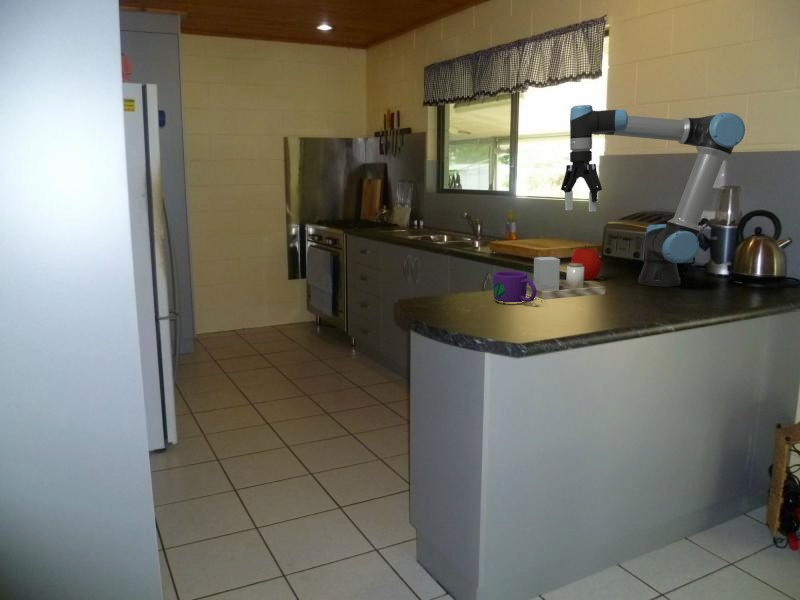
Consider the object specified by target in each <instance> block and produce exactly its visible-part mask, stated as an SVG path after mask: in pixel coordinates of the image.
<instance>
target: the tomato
mask: <svg viewBox="0 0 800 600" xmlns="http://www.w3.org/2000/svg"><path fill="white" fill-rule="evenodd" d="M572 254H573V255H572V256H571V261H570V263H582V264H583V266H584V281H589V280H590V281H593V280H595V279H596V278H598V276H599V275H600V272H601V269H602V259H601V256H600V254H599V253H598V252H597V250H595V249H594V248H591V247H590V246H589V247H587V245H584V246H582V247H578V248H576V250H575V251H574V252H573V253H572Z"/></svg>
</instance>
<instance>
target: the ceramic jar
mask: <svg viewBox="0 0 800 600" xmlns="http://www.w3.org/2000/svg"><path fill="white" fill-rule="evenodd" d="M565 278H566V279H565V280H566V287H569V288H573V289H578V288H583V283H584V282H585V280H584V266H583V264H582V263H571V262H569V263H568V265H566V277H565Z"/></svg>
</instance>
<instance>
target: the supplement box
mask: <svg viewBox="0 0 800 600" xmlns="http://www.w3.org/2000/svg"><path fill="white" fill-rule="evenodd" d="M560 270H561V259H560V258H557V257H555V256H545V257H544V256H539V257H534V258H533V281H532V282H533V283H534V285H535V287H536V289H538V290H542V291H554V290H559V281H560V272H561V271H560Z"/></svg>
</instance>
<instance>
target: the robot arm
mask: <svg viewBox="0 0 800 600" xmlns="http://www.w3.org/2000/svg"><path fill="white" fill-rule="evenodd" d="M569 115H570V117H569V133H570V134H569V136H570V137H569V139H570V140H569V141H570V142H569V143H570V145H569V149H570V151H571V152H570V153H569V161H570V162H569V163H572V164H566V167H565V174H564V177H563V180H562V184H561V188H560V190H561V191H563V192H564V201H565V203H564V204H565V211H572V210H574V209H573V208H574V206H573V204H574V202H573V201H574V199H573V198H574V196H573V195H574V194H573V193H574V191H573V188H574V187H575V184H576V183H577V180H578V179H579V178H582V179H583V180H584V182H585V183H586V186H587V188H588V189H589V192H588V212H589V213H590V212H597V206H598V205H597V202H598V193H599V192H600V191H602V190H603V187H602V183H601V181H600V178H599V173H598V171H597V165H596V163H590V162H592V160H593V151H592V149H593V135H595V136H596V135H597V136H599V135H603V136H604V135H606V136H617V137H631V138H638V139H639V138H640V139H650V140H651V139H652V140H653V139H654V140H664V141H673V142H674V141H677V142H678V144H679V145H688V146H693V147H695V148H696V151H697V152H698V153H697V157H696V159H695V162H694V164H693V167H692V169H691V172H690V175H689V178H688V180H687V183H686V184H685V187H684V190H683V193H682V196H681V198H680V200H679V203H678V206H677V209H676V211H675V213H674V216H673V218H671V219H669V220H667V222H666V223H663V224H662V223H661V224H660V223H658V224H650V225H647V227H646V232H645V246H644V247H645V248H644V249H645V250H644V261H643V262H644V264H643V266H642V269H641V272H640V274H639V276H638V284H640V285H642V286H643V285H644V286H648V287H649V286H650V287H661V288H662V287H665V288H667V287H668V288H669V287H679V286H680V285H681V277H680V273H679V269H678V266H677V263H678V264H683V263H687V262H690V261H691V260H692V259H694V258H695V256H697V254H698V252H699V249H700V241H699V239H698V238H699V235H700V234H701V228H700V227H699V222H700V220H701V219H702V215H703V213H704V210H705V208H706V205H707V203H708V201H709V198H710V196H711V193H712V190H713V188H714V185H715V183H716V180H717V178H718V175H719V172H720V171H721V168H722V165H723V162H724V160H726V159H728V158H730V157H731V155H732V153H733V150H734V148H735V147H736V146H737V145H739V144H740V143H741V142H742V140H743V139H744V137H745V134H746V125H745V123H744V121H743V119H742V118H741V117H740V116H739V115H738V114H736V113H731V112H720V113H717V114H712V115H706V116H701V117H684V118H682V119H672V118H661V117H650V116H649V117H647V116H637V115H628V113H627V111H626V110H625V109H606V110H605V109H604V110H593V106H592V104H579V105H574V106H572V107H571V109H570V114H569Z"/></svg>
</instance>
